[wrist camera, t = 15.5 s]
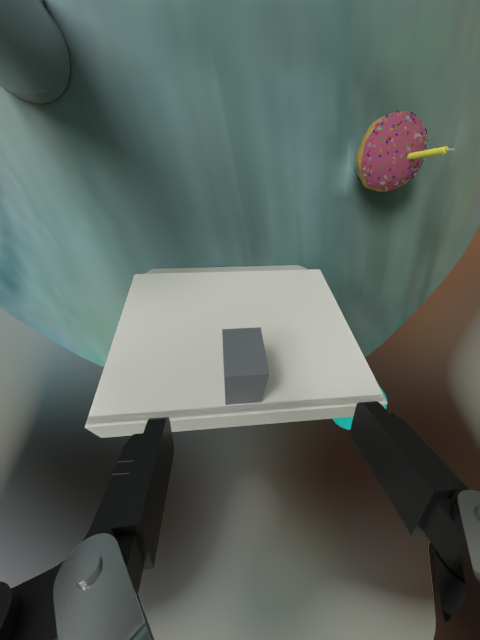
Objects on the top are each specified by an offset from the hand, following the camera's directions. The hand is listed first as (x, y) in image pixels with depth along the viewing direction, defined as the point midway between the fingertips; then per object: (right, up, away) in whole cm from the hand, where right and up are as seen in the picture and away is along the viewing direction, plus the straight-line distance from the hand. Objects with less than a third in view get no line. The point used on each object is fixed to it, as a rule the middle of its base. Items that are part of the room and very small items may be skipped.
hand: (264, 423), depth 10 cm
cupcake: (+18, +27, +24) cm, 40 cm away
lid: (-2, +2, +17) cm, 17 cm away
